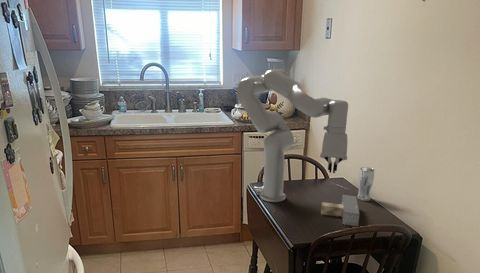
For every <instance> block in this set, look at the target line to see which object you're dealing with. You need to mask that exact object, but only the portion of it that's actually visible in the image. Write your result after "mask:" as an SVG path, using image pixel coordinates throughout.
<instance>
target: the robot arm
mask: <svg viewBox="0 0 480 273" xmlns="http://www.w3.org/2000/svg"><path fill="white" fill-rule="evenodd" d="M271 91H273V92H275V93H276V94H278V95H280V96H282V97H283V98H285V99H286V100H288V102H290V103H291V105H292V106H293V107H294V108H295V109H296V110H298V111H299V112H301V113H303V114H305V115H306V116H309V117H310V118H316V119H317V118H320V117H322V116H327V124H326V126H323V130H324V131H325V132H324V136H323V139H322V146H321V152H320V155H319V157H320V158H322V159H324V160H325V161H326V162H327V163H328V164H327V170H328V171H329V174H331V173H333V174H335V173H336V172H337V171H338V164H339V163H341V162H342V161H347V160H348V134H347V133H346V130H347V123H348V122H347V121H348V120H347V119H348V111H349V103H348V101H345V100H343V99H341V100H340V99H331V98H328V97H319V98H314V97H312V96H310V95H308V94H307V93H305V92H304V91H303V90H302V89H301V84H300V83H299V82H298V81H296V80H295V79H293V78H291V77H290V75H289V73H288V72H287V71H286V70H284V69H283V68H275V69H269V70H266V72H265V73H263V74H262V75H258V76H257V75H255V76H247V77H244V78H242V79H241V80H240V81H239V82H238V84H237V87H236V95H237V99H238V102H239V104H240V105H241V107H242V108H243V110H245V113H246V114H247V115H248V118H249V119H250V121H251V122H252V125H253V126H254V127H255V129H256V130H257V132H258V133H260V134H267V133H269V134H268V135H267V136H266V137H265V138H264V140H263V153H264V154H263V155H264V163H263V164H264V165H263V168H264V169H263V180H262V181H263V183H262V186H253V191H255V192H256V193H259V198H260V199H261V200H262V201H265V202H269V203H281V202H283V201H285V200H286V198H287V194H285V193H284V181H285V180H284V179H285V168H286V167H285V166H286V165H285V164H286V161H285V160H286V159H285V155H284V152H285V151H286V150H289V149H290V148H292V147H293V145H294V143H295V138H294V135H293V133H292V131H291V129H290V127H289V126H288V124H287V123H286V121H285V120H284V118H283V116H282V115H281V114H280V113H279V112H278V111H273V110H270V111H268V110H267V109H266V107H265V106H264V104H263V103H262V102H261V100H260V99H258V98H257V97H256V95H259V94H260V95H261V94H265V93H269V92H271ZM333 158H335V160H334V162H332V159H333Z"/></svg>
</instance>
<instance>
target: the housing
mask: <svg viewBox="0 0 480 273" xmlns="http://www.w3.org/2000/svg"><path fill="white" fill-rule="evenodd" d="M357 199H358V198H357V196H355V195H348V194H342V196H341V203H340V204H342V205H343V216H342V217H341V219H342V220H343V221H342V220H341V221H342V225H343V224H344V225H343V226H350V225H351V226H353V227H359V220H360V210H359V204H358V200H357ZM351 226H350V227H351Z"/></svg>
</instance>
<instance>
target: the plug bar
mask: <svg viewBox="0 0 480 273" xmlns="http://www.w3.org/2000/svg"><path fill="white" fill-rule="evenodd" d="M320 215H325V216H333V217H339V216H341V217H340V218H342V216H343V205H342V204H341V203H332V202H324V201H322V202H321V208H320Z"/></svg>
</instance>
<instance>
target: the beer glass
mask: <svg viewBox="0 0 480 273" xmlns="http://www.w3.org/2000/svg"><path fill="white" fill-rule="evenodd" d="M374 178H375V169H374V168H371V167H366V166H364V167H362V166H361V167H360V168H359V172H358V182H357V183H358V194H357V196H356V199H358V200H359V201H363V202H370V200H371V191H372V188H373V185H374V181H375V180H374Z"/></svg>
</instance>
